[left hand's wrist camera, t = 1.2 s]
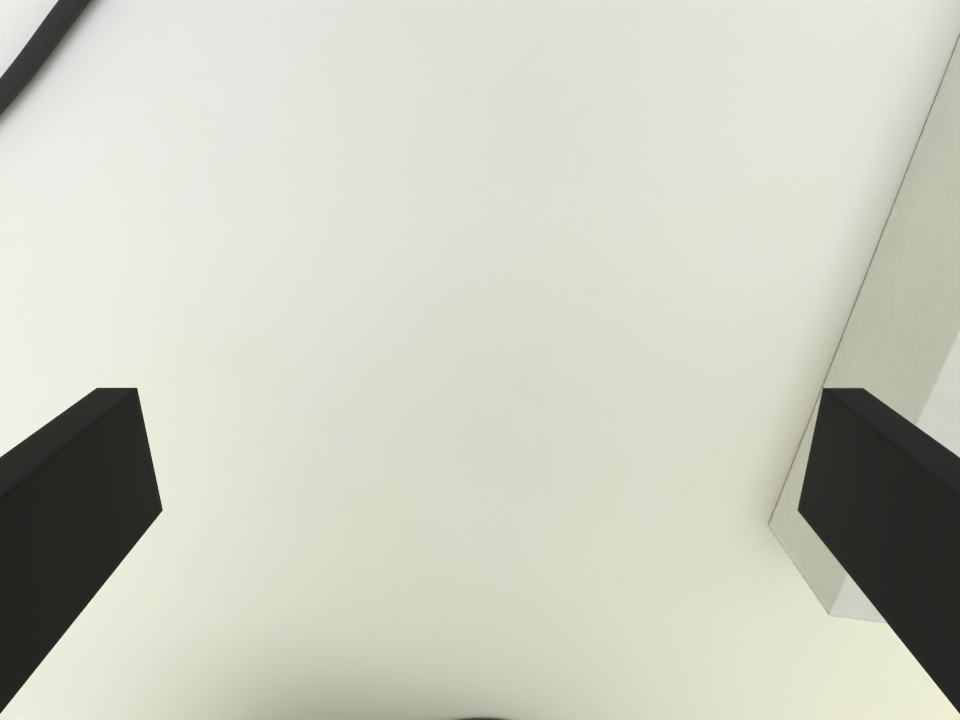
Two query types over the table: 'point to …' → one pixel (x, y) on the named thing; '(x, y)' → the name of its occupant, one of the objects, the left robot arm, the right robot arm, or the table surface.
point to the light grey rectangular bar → (897, 336)
